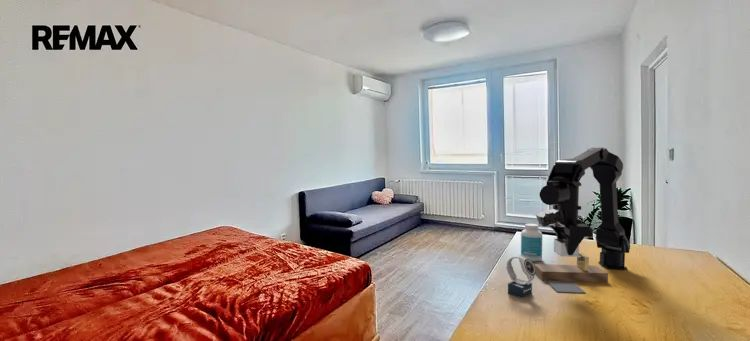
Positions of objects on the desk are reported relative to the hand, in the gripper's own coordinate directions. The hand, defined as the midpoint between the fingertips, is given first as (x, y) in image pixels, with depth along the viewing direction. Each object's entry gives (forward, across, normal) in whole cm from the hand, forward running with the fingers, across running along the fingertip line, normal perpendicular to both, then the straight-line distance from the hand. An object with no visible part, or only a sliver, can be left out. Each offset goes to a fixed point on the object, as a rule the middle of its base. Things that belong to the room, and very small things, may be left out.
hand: (566, 252), depth 102 cm
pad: (+11, 0, 0) cm, 11 cm away
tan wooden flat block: (+8, -8, +9) cm, 15 cm away
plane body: (+11, -8, +5) cm, 15 cm away
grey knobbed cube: (0, 0, 0) cm, 1 cm away
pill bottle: (+11, -26, -1) cm, 29 cm away
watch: (+11, +6, -15) cm, 20 cm away
